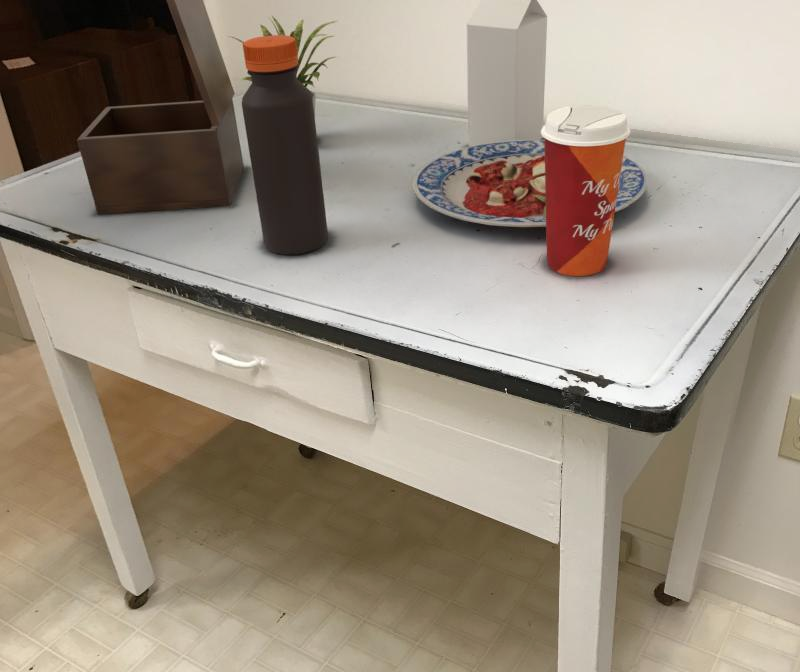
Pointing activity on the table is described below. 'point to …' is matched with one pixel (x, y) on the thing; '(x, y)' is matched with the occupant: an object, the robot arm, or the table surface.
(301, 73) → the house plant
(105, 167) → the chest
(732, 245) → the table surface
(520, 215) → the ceramic plate
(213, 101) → the lid
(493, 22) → the milk carton
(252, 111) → the bottle
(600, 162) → the paper cup
